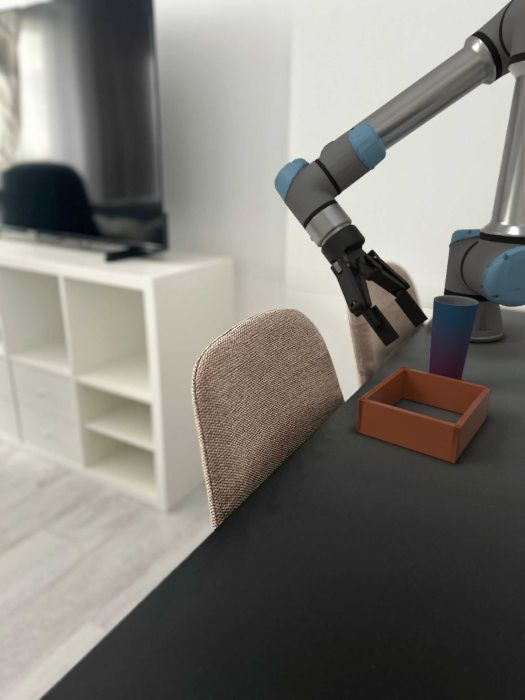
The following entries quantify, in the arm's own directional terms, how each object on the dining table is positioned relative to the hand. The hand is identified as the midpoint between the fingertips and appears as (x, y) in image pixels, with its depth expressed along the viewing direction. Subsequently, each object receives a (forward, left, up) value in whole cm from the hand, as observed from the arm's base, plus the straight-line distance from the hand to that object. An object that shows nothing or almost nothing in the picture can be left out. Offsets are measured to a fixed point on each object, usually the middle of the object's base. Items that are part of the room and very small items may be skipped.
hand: (408, 332), depth 88 cm
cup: (0, +7, -8) cm, 11 cm away
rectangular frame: (+16, +9, -8) cm, 20 cm away
